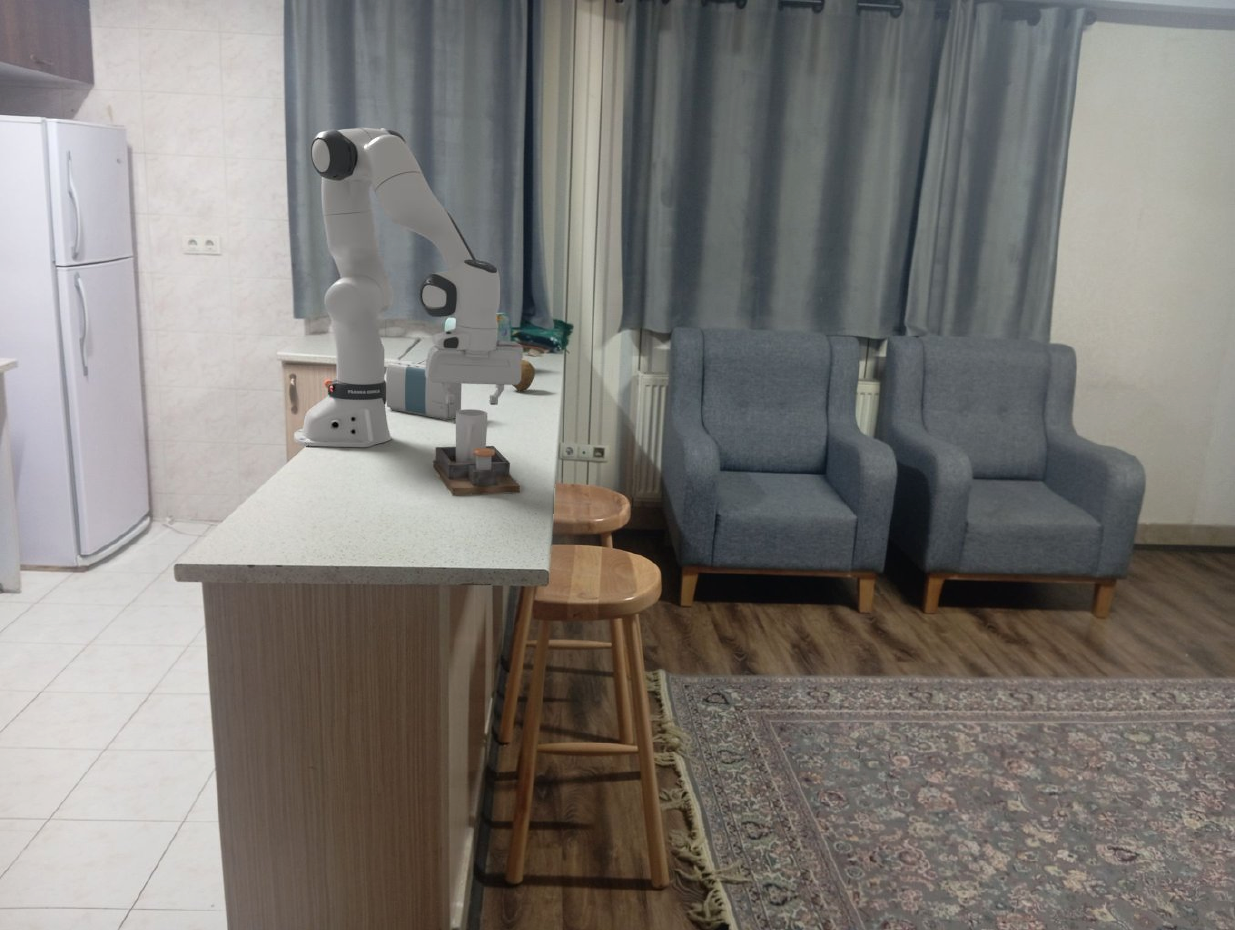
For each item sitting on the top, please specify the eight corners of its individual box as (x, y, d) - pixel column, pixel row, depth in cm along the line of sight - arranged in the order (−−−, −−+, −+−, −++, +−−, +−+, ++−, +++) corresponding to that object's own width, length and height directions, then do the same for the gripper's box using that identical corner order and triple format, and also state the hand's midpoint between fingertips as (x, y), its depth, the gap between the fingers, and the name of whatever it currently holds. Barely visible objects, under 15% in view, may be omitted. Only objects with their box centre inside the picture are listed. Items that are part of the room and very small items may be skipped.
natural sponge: (504, 393, 312) (505, 361, 309) (506, 387, 320) (507, 356, 318) (533, 394, 312) (534, 362, 309) (534, 389, 321) (536, 358, 318)
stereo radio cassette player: (384, 410, 277) (384, 337, 272) (404, 406, 284) (404, 335, 279) (446, 422, 268) (447, 347, 263) (464, 417, 275) (466, 344, 270)
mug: (456, 461, 223) (457, 408, 220) (486, 463, 224) (488, 410, 221) (451, 473, 214) (452, 418, 211) (483, 475, 214) (485, 419, 211)
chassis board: (452, 495, 204) (453, 473, 203) (433, 466, 224) (433, 447, 222) (519, 492, 209) (520, 471, 208) (494, 465, 229) (495, 445, 227)
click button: (475, 476, 206) (475, 453, 205) (470, 470, 210) (471, 447, 208) (496, 475, 207) (497, 452, 206) (491, 469, 211) (492, 447, 210)
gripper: (519, 339, 219) (515, 401, 222) (425, 334, 211) (422, 399, 215) (527, 344, 213) (522, 408, 217) (430, 339, 206) (427, 406, 209)
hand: (471, 403), depth 216 cm, fingers open, 8 cm apart
